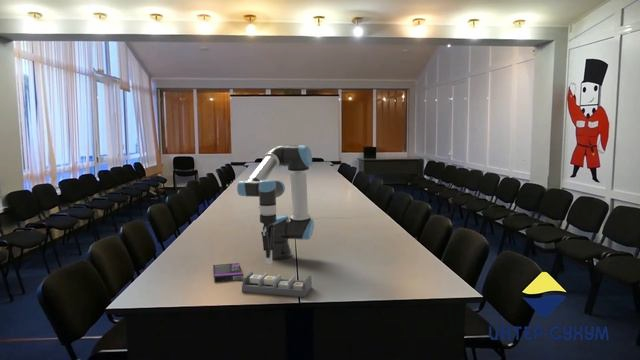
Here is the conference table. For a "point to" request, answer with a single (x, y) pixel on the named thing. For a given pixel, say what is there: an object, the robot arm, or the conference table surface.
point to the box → (227, 272)
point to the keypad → (276, 286)
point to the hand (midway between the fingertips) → (269, 263)
